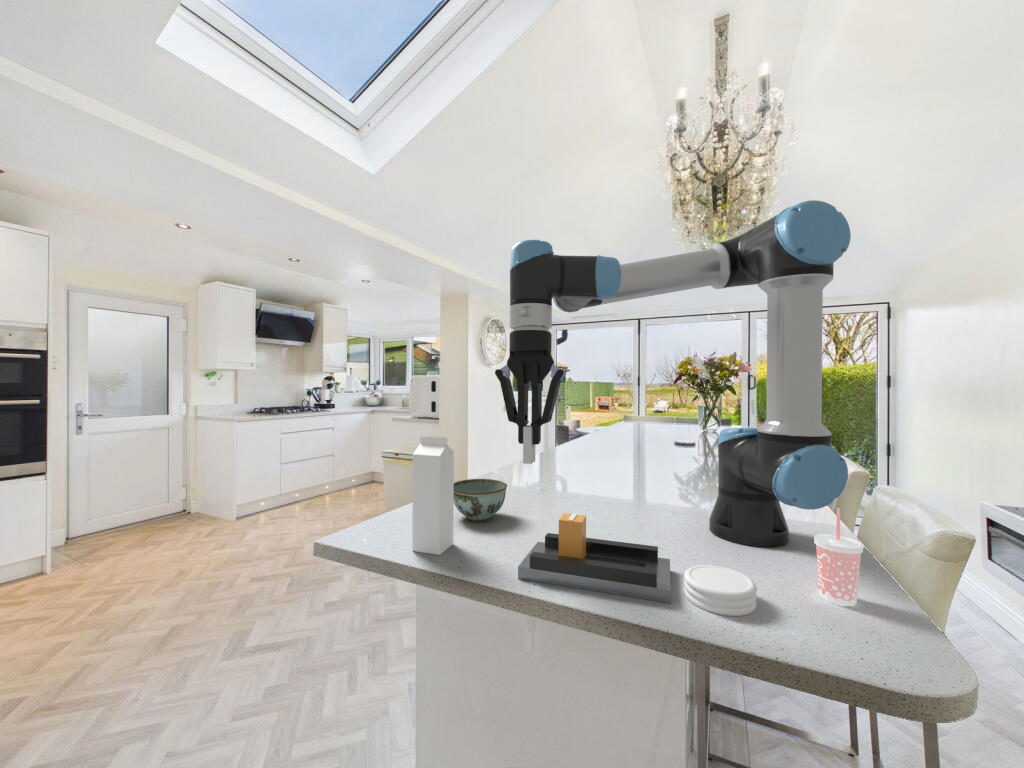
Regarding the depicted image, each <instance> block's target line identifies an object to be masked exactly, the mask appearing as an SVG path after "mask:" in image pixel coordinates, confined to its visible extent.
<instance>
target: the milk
mask: <svg viewBox="0 0 1024 768" xmlns="http://www.w3.org/2000/svg"><path fill="white" fill-rule="evenodd" d="M454 454H455V453H454V450H453V449H452V448H451V447H450V446H449V445H448V437H446V436H431V435H421V436H420V437H419V444H418V446H417V447H416V449H415V450H414V452H413V453H412V494H411V495H412V506H411V507H412V517H411V518H412V520H411V521H412V525H411V526H412V528H411V529H412V532H411V534H412V536H411V537H412V546H411V548H412V549H411V550H412V552H414V551H415V552H416V553H422V554H429V555H436V556H441V555H442V554H443V553H444V552H446V551H447V550H448V549H449V548H450V547H452V546H453V545H454V506H455V504H454V483H455V481H454V477H455V475H454V471H455V470H454V469H455V468H454V466H455V465H454V463H455V462H454V461H455V460H454V456H455V455H454Z"/></svg>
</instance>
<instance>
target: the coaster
mask: <svg viewBox="0 0 1024 768" xmlns="http://www.w3.org/2000/svg"><path fill="white" fill-rule="evenodd" d="M683 579H684V582H683V587H684V588H683V594H684V596H685V598H686V599H687V600H688V601H689V602H690V603H691V604H692V605H694V606H695V607H697V606H698V608H699V609H701V610H703V611H705V612H710V613H713V614H716V615H719V616H726V617H728V616H729V617H742V616H743V615H744V616H747V615H750V614H752V613H754V612H755V611H756V609H757V607H758V606H757V605H758V603H757V599H758V598H757V597H758V596H757V592H758V588H757V585H756V583H755V582H754V580H752V579H751V578H750V577H749V576H747V575H746V574H744V573H742V572H740V571H737V570H734V569H732V568H728V567H723V566H718V565H712V564H711V565H709V564H703V565H702V564H701V565H700V564H699V565H695V566H691V567H689V568H688V569H686V570H685V572H684V575H683Z"/></svg>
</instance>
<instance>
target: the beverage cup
mask: <svg viewBox="0 0 1024 768" xmlns="http://www.w3.org/2000/svg"><path fill="white" fill-rule="evenodd" d="M835 516H836V520H835V521H836V523H835V525H836V527H835V530H836V531H835V534H831V533H817V534H815V535H813V542H814V543H813V544H815V545H816V546H815V547H816V548H815V549H816V562H817V566H816V567H817V580H818V581H817V582H818V595H819V594H820V595H821V596H822V597H823V598H825V599H826V600H829V601H832V602H835V603H838V604H841V605H854V604H855V603H856V604H857V600H858V590H859V582H860V581H859V578H860V572H861V571H860V568H861V561H862V560H861V557H862V553H864V547H865V546H864V543H862V542H861V541H859V540H856V539H853V538H851V537H847V536H843V535H841V507H836V515H835Z"/></svg>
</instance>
